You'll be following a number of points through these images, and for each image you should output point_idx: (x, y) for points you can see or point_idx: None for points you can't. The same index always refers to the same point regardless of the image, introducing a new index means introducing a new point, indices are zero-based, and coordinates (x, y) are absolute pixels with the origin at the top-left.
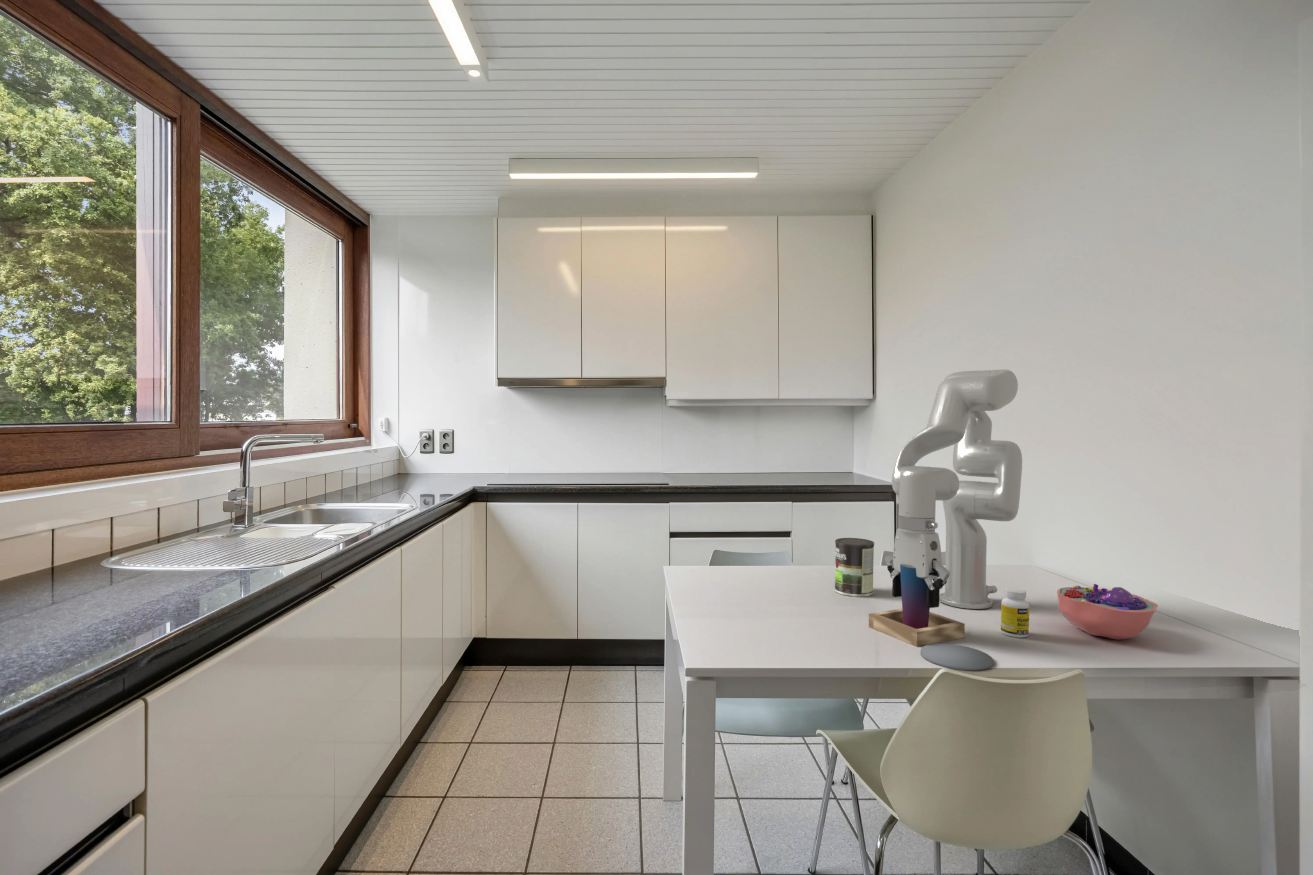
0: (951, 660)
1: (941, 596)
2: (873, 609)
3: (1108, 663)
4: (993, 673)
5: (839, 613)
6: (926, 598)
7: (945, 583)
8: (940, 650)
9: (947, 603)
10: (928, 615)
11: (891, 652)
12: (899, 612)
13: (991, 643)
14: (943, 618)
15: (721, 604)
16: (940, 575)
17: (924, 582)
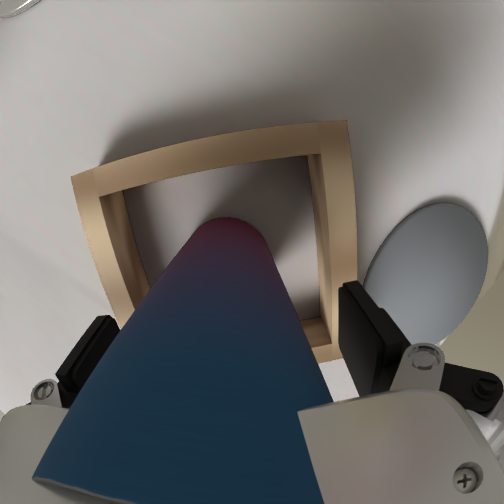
0: (444, 317)
1: (2, 9)
2: (14, 244)
3: (500, 20)
4: (493, 266)
5: (55, 347)
6: (351, 373)
7: (485, 374)
8: (403, 306)
9: (33, 3)
10: (273, 261)
11: (342, 389)
12: (125, 278)
13: (396, 93)
14: (255, 156)
15: None
16: (490, 444)
17: None
